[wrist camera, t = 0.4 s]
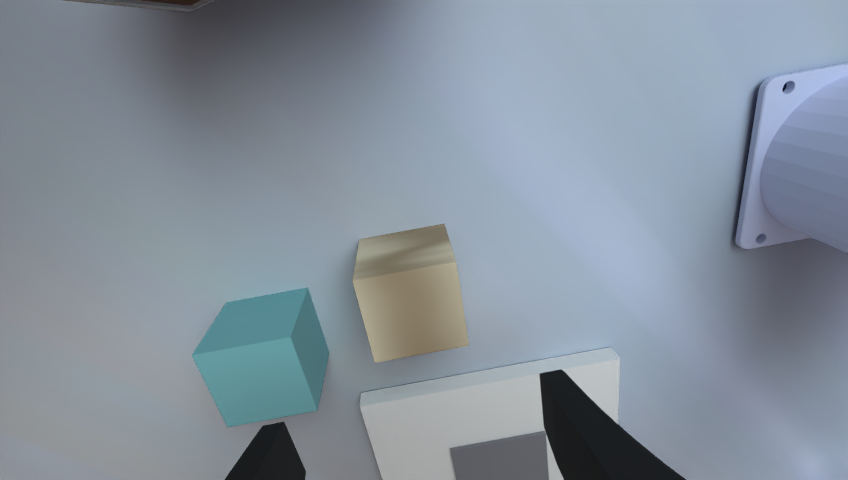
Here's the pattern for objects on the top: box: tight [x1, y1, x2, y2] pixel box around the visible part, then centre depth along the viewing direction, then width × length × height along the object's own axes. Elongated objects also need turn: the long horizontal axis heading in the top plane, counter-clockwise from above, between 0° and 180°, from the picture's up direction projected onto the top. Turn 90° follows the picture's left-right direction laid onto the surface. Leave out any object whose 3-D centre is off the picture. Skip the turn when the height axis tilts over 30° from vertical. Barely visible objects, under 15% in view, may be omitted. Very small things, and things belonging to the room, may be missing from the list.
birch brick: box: [352, 224, 469, 363], centre depth 19 cm, size 4×4×4 cm
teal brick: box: [192, 288, 329, 427], centre depth 19 cm, size 4×4×4 cm
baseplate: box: [360, 347, 620, 480], centre depth 25 cm, size 14×14×1 cm
